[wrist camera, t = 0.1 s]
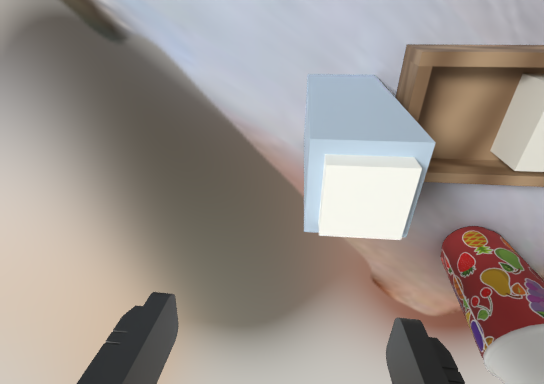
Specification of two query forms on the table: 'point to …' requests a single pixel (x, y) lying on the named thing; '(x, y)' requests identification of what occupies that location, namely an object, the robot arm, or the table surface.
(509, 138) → the off-white rectangular block
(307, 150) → the carton
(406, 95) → the crate
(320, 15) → the table surface
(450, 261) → the smoothie
